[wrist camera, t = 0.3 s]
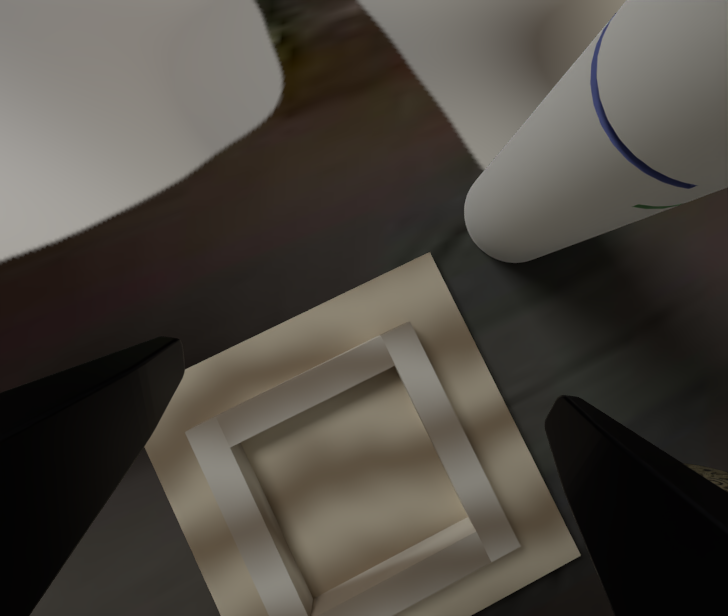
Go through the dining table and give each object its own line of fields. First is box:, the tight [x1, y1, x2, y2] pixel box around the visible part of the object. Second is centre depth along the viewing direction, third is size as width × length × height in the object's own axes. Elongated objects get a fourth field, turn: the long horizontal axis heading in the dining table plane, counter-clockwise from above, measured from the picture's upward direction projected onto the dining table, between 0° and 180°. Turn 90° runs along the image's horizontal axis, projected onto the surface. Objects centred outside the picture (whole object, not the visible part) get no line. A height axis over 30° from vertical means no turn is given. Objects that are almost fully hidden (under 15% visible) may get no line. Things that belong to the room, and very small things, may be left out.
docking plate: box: [144, 252, 581, 616], centre depth 21 cm, size 22×22×2 cm
